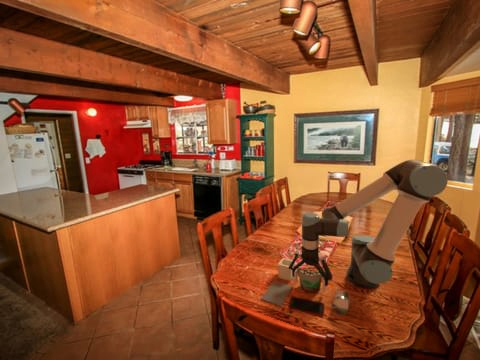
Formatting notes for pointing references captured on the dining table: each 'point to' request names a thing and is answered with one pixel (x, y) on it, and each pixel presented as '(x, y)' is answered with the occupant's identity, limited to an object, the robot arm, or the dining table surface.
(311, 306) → the cell phone
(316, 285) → the food container
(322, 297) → the dining table surface
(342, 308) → the silver round cylinder
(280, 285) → the felt pad
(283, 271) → the cup
